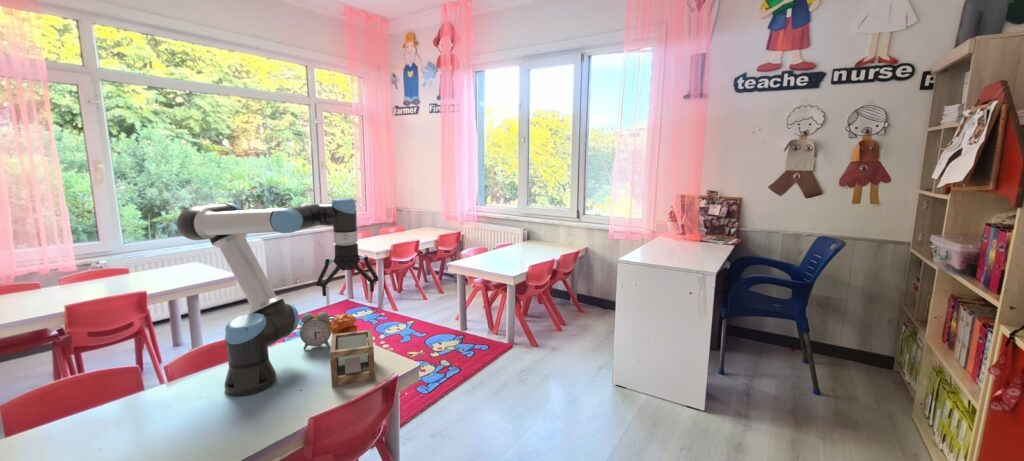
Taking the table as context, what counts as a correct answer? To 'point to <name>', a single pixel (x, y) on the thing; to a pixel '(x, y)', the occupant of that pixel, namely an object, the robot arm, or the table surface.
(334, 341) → the frame
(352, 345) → the hatch
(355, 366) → the grey block
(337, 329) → the orange sculpture
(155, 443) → the table surface
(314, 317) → the alarm clock
